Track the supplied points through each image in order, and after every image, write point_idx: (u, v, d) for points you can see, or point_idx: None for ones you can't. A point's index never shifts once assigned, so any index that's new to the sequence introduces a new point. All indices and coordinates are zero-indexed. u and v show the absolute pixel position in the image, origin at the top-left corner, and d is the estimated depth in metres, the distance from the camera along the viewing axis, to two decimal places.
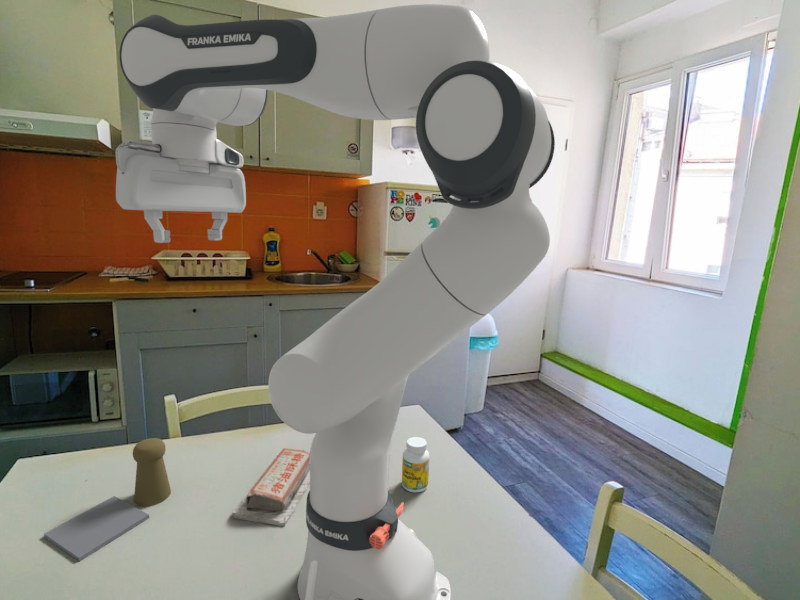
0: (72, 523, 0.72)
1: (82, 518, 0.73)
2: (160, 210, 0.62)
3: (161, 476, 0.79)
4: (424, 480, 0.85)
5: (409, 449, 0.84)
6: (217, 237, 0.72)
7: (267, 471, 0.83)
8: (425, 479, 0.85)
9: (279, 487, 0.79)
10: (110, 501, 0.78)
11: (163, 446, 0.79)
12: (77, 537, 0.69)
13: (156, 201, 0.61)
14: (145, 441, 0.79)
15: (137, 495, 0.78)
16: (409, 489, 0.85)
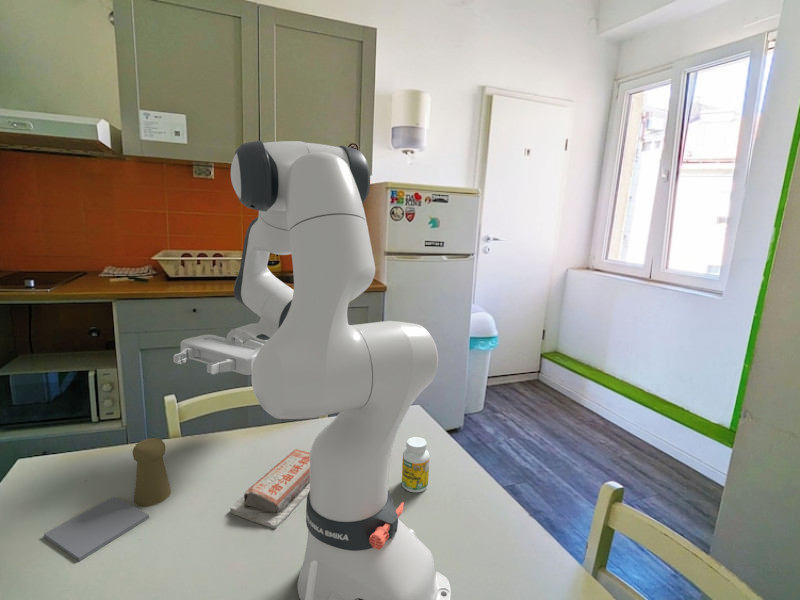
0: (72, 523, 0.72)
1: (82, 518, 0.73)
2: (192, 346, 0.91)
3: (161, 476, 0.79)
4: (424, 480, 0.85)
5: (409, 449, 0.84)
6: (210, 365, 0.83)
7: (271, 471, 0.83)
8: (425, 479, 0.85)
9: (277, 489, 0.78)
10: (110, 501, 0.78)
11: (163, 446, 0.79)
12: (77, 537, 0.69)
13: (194, 342, 0.92)
14: (145, 441, 0.79)
15: (137, 495, 0.78)
16: (409, 489, 0.85)
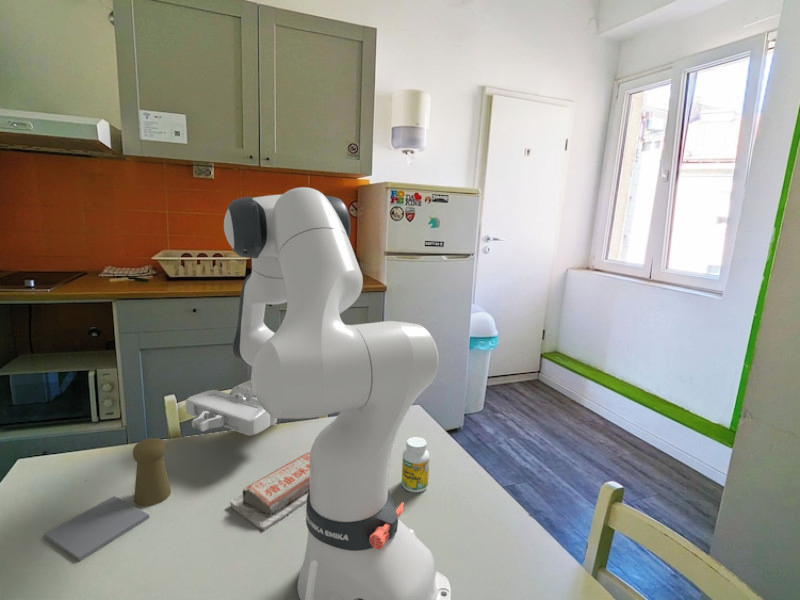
0: (72, 523, 0.72)
1: (82, 518, 0.73)
2: (197, 404, 0.94)
3: (161, 476, 0.79)
4: (424, 480, 0.85)
5: (409, 449, 0.84)
6: (200, 422, 0.88)
7: (276, 471, 0.83)
8: (425, 479, 0.85)
9: (274, 491, 0.78)
10: (110, 501, 0.78)
11: (163, 446, 0.79)
12: (77, 537, 0.69)
13: (199, 400, 0.95)
14: (145, 441, 0.79)
15: (137, 495, 0.78)
16: (409, 489, 0.85)
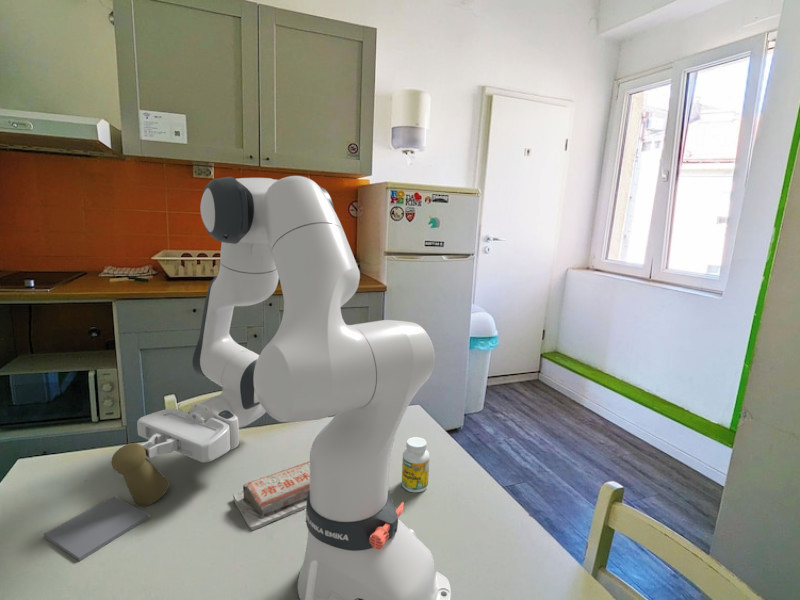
0: (72, 523, 0.72)
1: (82, 518, 0.73)
2: (148, 426, 0.84)
3: (151, 477, 0.77)
4: (424, 480, 0.85)
5: (409, 449, 0.84)
6: (148, 448, 0.78)
7: (281, 471, 0.83)
8: (425, 479, 0.85)
9: (270, 492, 0.77)
10: (110, 501, 0.78)
11: (141, 452, 0.75)
12: (77, 537, 0.69)
13: (152, 420, 0.86)
14: (121, 451, 0.75)
15: (133, 497, 0.77)
16: (409, 489, 0.85)
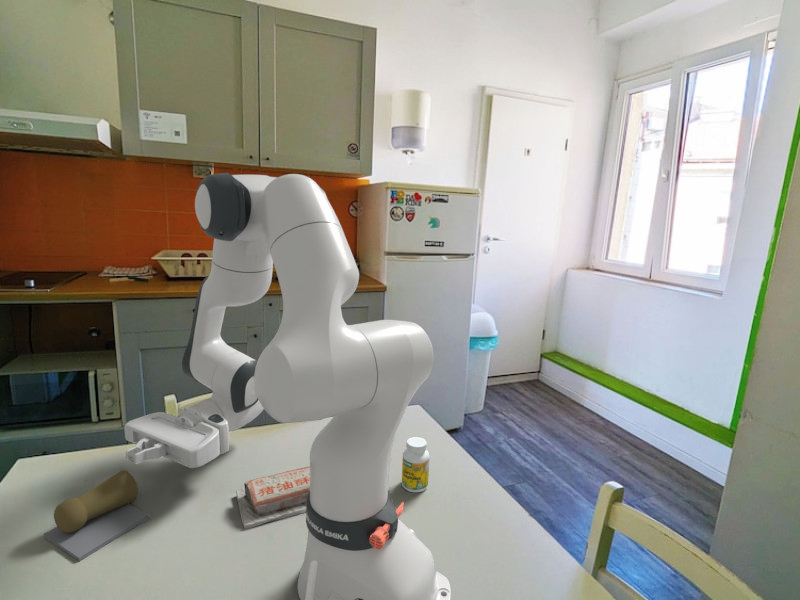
0: None
1: None
2: (136, 431, 0.82)
3: (104, 489, 0.74)
4: (424, 480, 0.85)
5: (409, 449, 0.84)
6: (134, 453, 0.76)
7: (283, 473, 0.83)
8: (425, 479, 0.85)
9: (267, 492, 0.77)
10: None
11: (64, 504, 0.69)
12: (77, 537, 0.69)
13: (139, 425, 0.84)
14: (58, 524, 0.69)
15: (125, 503, 0.76)
16: (409, 489, 0.85)
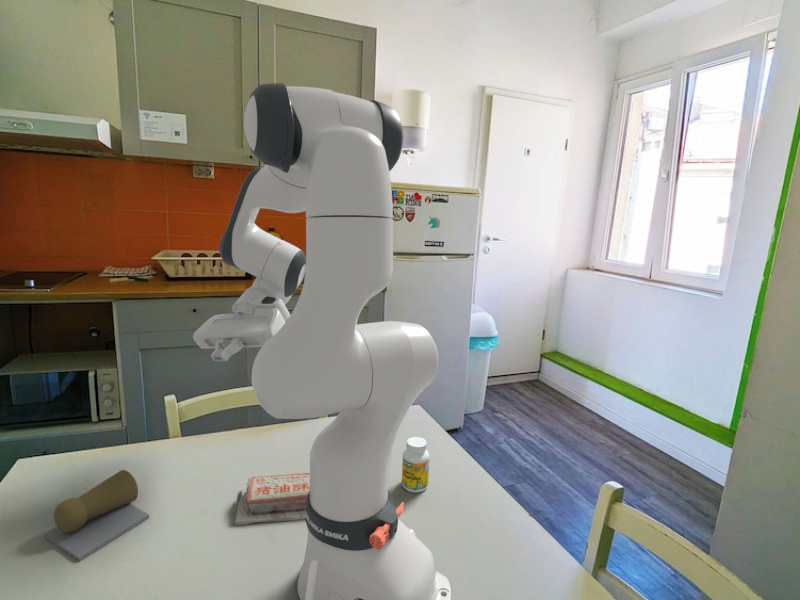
0: None
1: None
2: (206, 337, 0.88)
3: (104, 489, 0.74)
4: (424, 480, 0.85)
5: (409, 449, 0.84)
6: (219, 354, 0.83)
7: (287, 475, 0.82)
8: (425, 479, 0.85)
9: (263, 492, 0.77)
10: None
11: (64, 504, 0.69)
12: (77, 537, 0.69)
13: (205, 332, 0.89)
14: (58, 524, 0.69)
15: (125, 503, 0.76)
16: (409, 489, 0.85)
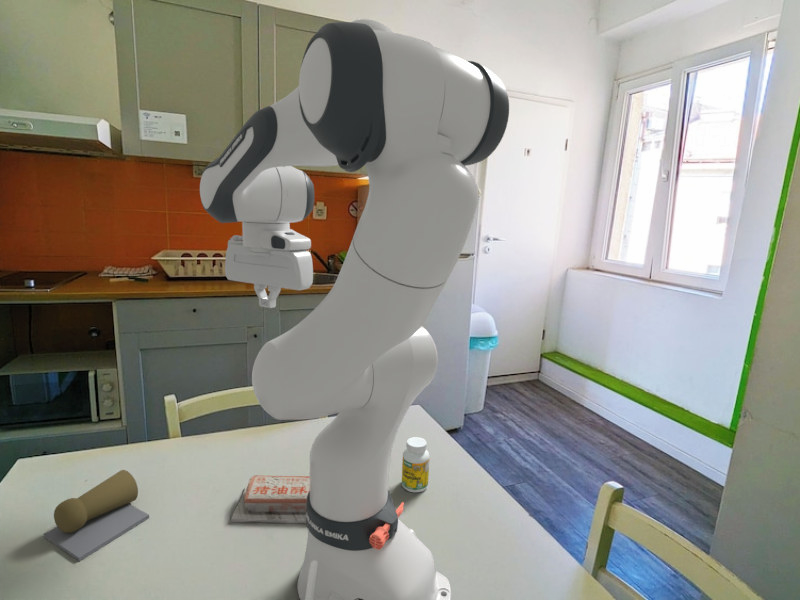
0: None
1: None
2: (241, 281, 0.88)
3: (104, 489, 0.74)
4: (424, 480, 0.85)
5: (409, 449, 0.84)
6: (267, 305, 0.86)
7: (288, 476, 0.82)
8: (425, 479, 0.85)
9: (261, 491, 0.77)
10: None
11: (64, 504, 0.69)
12: (77, 537, 0.69)
13: (236, 275, 0.87)
14: (58, 524, 0.69)
15: (125, 503, 0.76)
16: (409, 489, 0.85)
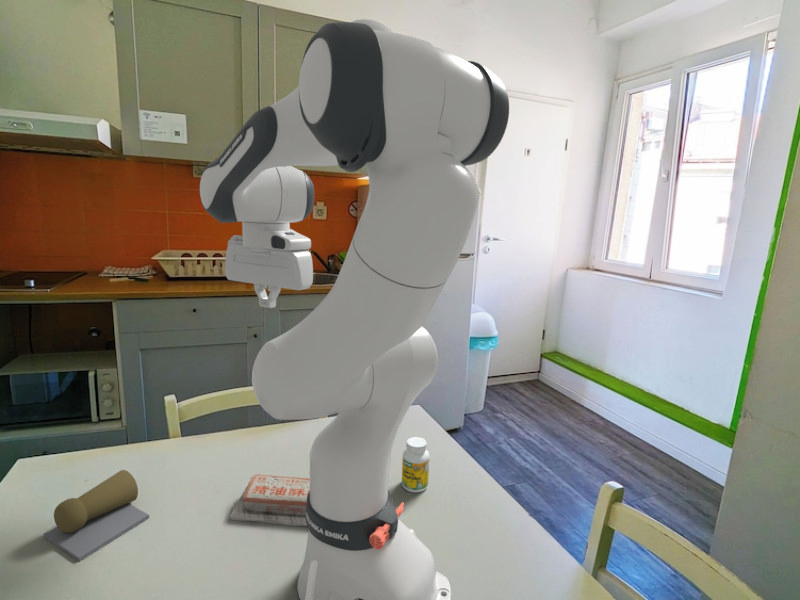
0: None
1: None
2: (241, 281, 0.88)
3: (104, 489, 0.74)
4: (424, 480, 0.85)
5: (409, 449, 0.84)
6: (267, 305, 0.86)
7: (288, 477, 0.81)
8: (425, 479, 0.85)
9: (260, 491, 0.77)
10: None
11: (64, 504, 0.69)
12: (77, 537, 0.69)
13: (236, 275, 0.87)
14: (58, 524, 0.69)
15: (125, 503, 0.76)
16: (409, 489, 0.85)
